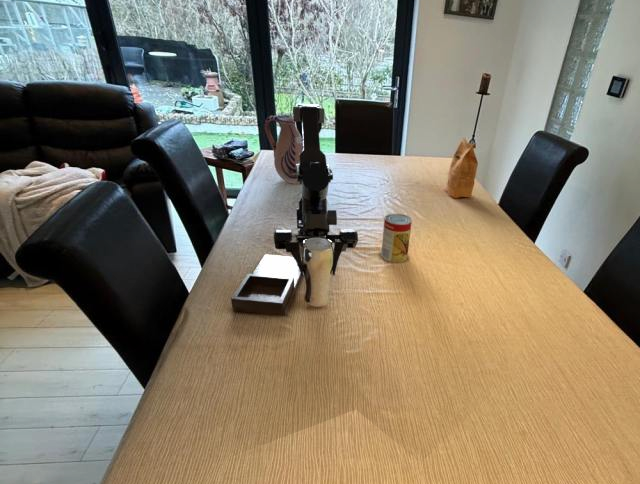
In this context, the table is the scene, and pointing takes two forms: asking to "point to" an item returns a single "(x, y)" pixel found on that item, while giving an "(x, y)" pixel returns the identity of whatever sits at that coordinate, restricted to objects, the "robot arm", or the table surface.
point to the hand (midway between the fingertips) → (318, 275)
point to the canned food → (396, 237)
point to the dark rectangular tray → (268, 286)
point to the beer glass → (317, 270)
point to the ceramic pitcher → (285, 147)
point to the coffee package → (462, 171)
